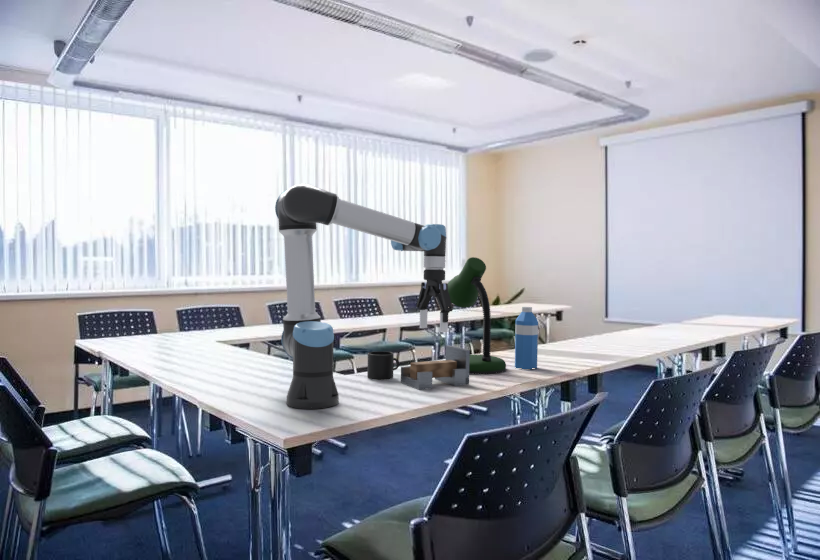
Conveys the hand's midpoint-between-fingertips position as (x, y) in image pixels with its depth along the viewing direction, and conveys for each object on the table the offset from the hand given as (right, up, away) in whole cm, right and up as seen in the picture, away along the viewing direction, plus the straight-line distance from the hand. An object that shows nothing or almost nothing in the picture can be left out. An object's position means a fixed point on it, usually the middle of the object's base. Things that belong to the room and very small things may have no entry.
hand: (433, 330), depth 194 cm
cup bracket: (+7, -19, +4) cm, 20 cm away
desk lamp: (+17, -19, +34) cm, 42 cm away
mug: (-18, -19, +10) cm, 28 cm away
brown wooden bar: (0, -16, +1) cm, 16 cm away
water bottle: (+39, -19, +35) cm, 56 cm away
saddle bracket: (-6, -19, -3) cm, 20 cm away
